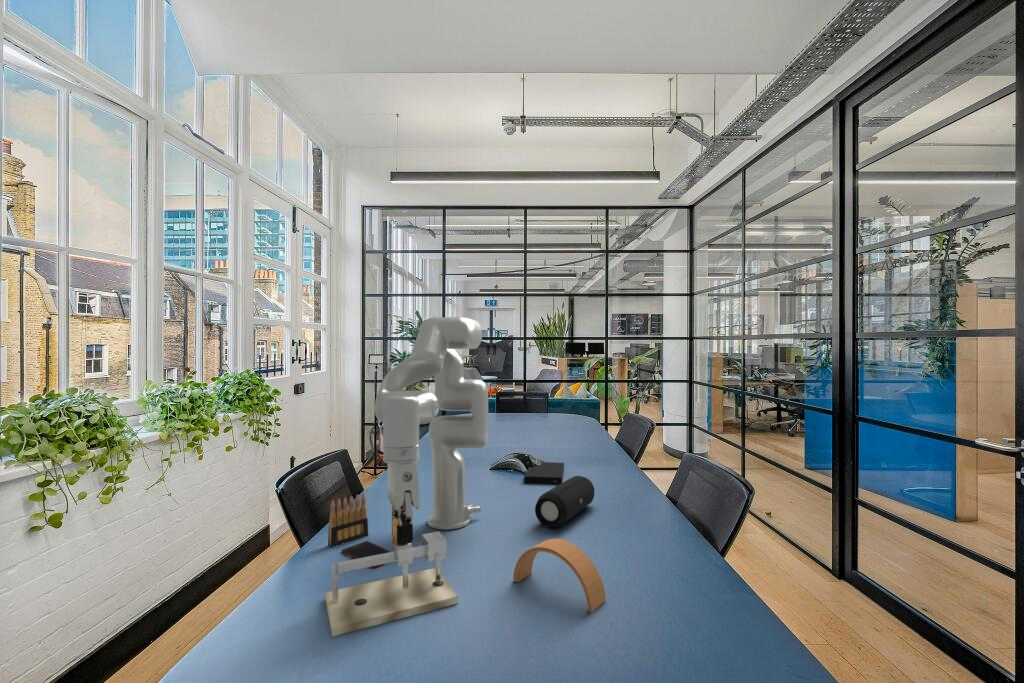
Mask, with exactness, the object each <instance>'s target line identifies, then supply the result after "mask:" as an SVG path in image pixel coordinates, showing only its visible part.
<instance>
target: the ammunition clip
mask: <svg viewBox="0 0 1024 683" xmlns="http://www.w3.org/2000/svg"><path fill="white" fill-rule="evenodd" d="M366 500H367V499H366V494H365V492H362V493H361V499H360V496H359V494H356V496H355V501H354V498H353V495H350V497H349V500H347V497H346V496H345V497H344V498H343V503H342V501H341V499H340V498H338V499H337V503H336V504H335V501H334V500H333V499H332V500H331V502H330V506H329V507H330V508H329V526H328V535H327V536H328V538H327V539H328V540H327V546H328V547H330V548H334V547H333V546H335V547H337V546H336V545H338V546H341V545H343V544H342V543H345V544H347V543H346V542H348V543H350V542H349V541H351V542H353V541H352V540H354V541H356V540H355V539H357V540H360V539H363V538H362V537H364V538H366V537H365V536H367V537H369V522H368V521H369V520H368V517H367V515H368V513H367V512H368V508H367V501H366ZM348 501H349V502H348ZM360 502H361V504H360ZM359 538H360V539H359ZM340 544H341V545H340Z"/></svg>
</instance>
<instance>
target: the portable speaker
mask: <svg viewBox="0 0 1024 683" xmlns="http://www.w3.org/2000/svg"><path fill="white" fill-rule="evenodd" d="M595 493H596V492H595V487H594V484H593V483H592V481H591V480H590V479H589V478H587V477H585V476H582V475H574V476H572V477H570V478H569V479H567V480H565V481H562V483H561V484H560V485H555V487H553V488H551V489H549V490H548V491H546V492H544V493H542V494H541V495H539V496H538V499H537V500H536V503H535V507H534V512H535V514H534V515H535V517H536V518H537V521H538V522H539V523H540V524H542V526H545V527H547V528H555V529H556V528H559V527H561V526H562V525H563V524H564V523H566V522H568V520H570V519H572V517H574V516H575V515H577V514H578V513H579V512H581V511H582V510H584V509H585V508H586V507H587V506H589V505H590V504H591V503H592V502H593V500H594V497H595Z"/></svg>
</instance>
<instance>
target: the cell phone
mask: <svg viewBox="0 0 1024 683" xmlns="http://www.w3.org/2000/svg"><path fill="white" fill-rule="evenodd" d="M389 552H391V550H388V549H386V548H383V547H381V546H379V545H377V544H375V543H373V542H370V541H367V540H366V541H363V542H360V543H359V542H358V543H357V544H354V545H351V546H349V547H345V548H343V549H342V550H341V554H342V553H343V555H344V554H345V555H344V556H347V555H348V556H347V557H349V558H350V557H351V558H350V559H351V560H353V559H359V558H364V557H369V556H374V555H379V554H384V553H389ZM382 565H383V566H385V564H381V565H376V566H371V567H368V568H369V569H372V570H375V569H378V568H380V567H382Z"/></svg>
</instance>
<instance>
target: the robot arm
mask: <svg viewBox="0 0 1024 683" xmlns="http://www.w3.org/2000/svg"><path fill="white" fill-rule="evenodd" d="M482 330H483V329H482V327H481V324H480V322H479V321H478V320H476V319H473V318H469V317H464V316H463V317H462V316H458V317H457V316H455V317H454V316H453V317H452V316H451V317H450V316H448V317H445V316H444V317H439V316H438V317H431V318H427V319H426V320H424V321H423V322H422V323H421V325H420V327H419V331H418V333H417V336H416V339H415V342H414V345H413V348H412V350H411V354H410V356H408V357H406V358H405V359H404V360H402V361H401V362H399V363H398V364H396V366H394V367H393V368H392V369H390V371H389V372H387V374H386V375H385V376H384V377H383V379H382V381H381V384H380V386H379V389H378V392H377V395H376V398H375V402H374V413H375V417H376V419H378V421H379V422H381V423H382V434H383V438H382V440H383V441H382V442H383V443H382V444H383V445H382V446H383V452H382V453H383V456H382V457H383V458H382V459H383V460H382V461H383V462H384V463H386V464H387V498H388V501H389V503H390V505H391V520H392V519H393V518H394V517H396V516H398V525H397V544H398V545H402V544H407V543H411V544H412V543H413V542H414V540H413V539H414V538H413V537H414V534H413V533H414V532H413V531H414V529H413V528H414V527H413V525H414V522H413V521H414V520H413V517H414V512H413V508H414V509H415V510H419V509H420V508H421V498H420V497H421V496H420V495H421V494H420V479H419V469H418V461H419V460H420V425H426V424H429V425H428V436H429V442H430V447H431V463H432V514H431V515H430V516H429V517H428V518H427V525H428V526H429V527H430V528H433V529H436V530H440V531H441V530H443V531H445V530H446V531H450V530H456V529H457V530H458V529H461V528H463V527H466V526H467V525H468V524H470V523H471V516H470V515H472V514H477V513H480V512H481V506H480V505H474V504H469V505H467V504H466V502H465V501H466V497H465V496H466V490H465V488H466V486H465V485H466V483H465V482H466V480H465V479H466V478H465V470H466V469H465V468H466V465H465V464H466V463H465V460H464V458H463V456H462V455H461V453H460V451H459V450H458V449H481V448H484V447H485V446H486V444H487V443H488V438H489V393H488V387H487V385H486V384H487V383H485V381H483V380H482V379H476V378H465V377H464V366H465V365H464V361H463V359H462V357H461V356H460V355H459V354H458V352H457V351H456V350H476V349H477V348H478V347H479V346H480V345H481V343H482V340H483V331H482ZM431 377H434V380H435V381H434V393H433V392H432V391H428V390H404V389H405V388H407V387H408V386H411V385H413V384H416V383H418V382H421V381H424V380H426V379H429V378H431ZM439 410H441V411H446V412H447V411H448V412H470V413H471V414H472V415H458V414H457V415H450V414H449V415H439V416H437V415H438V414H439ZM402 515H403V516H402Z"/></svg>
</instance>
